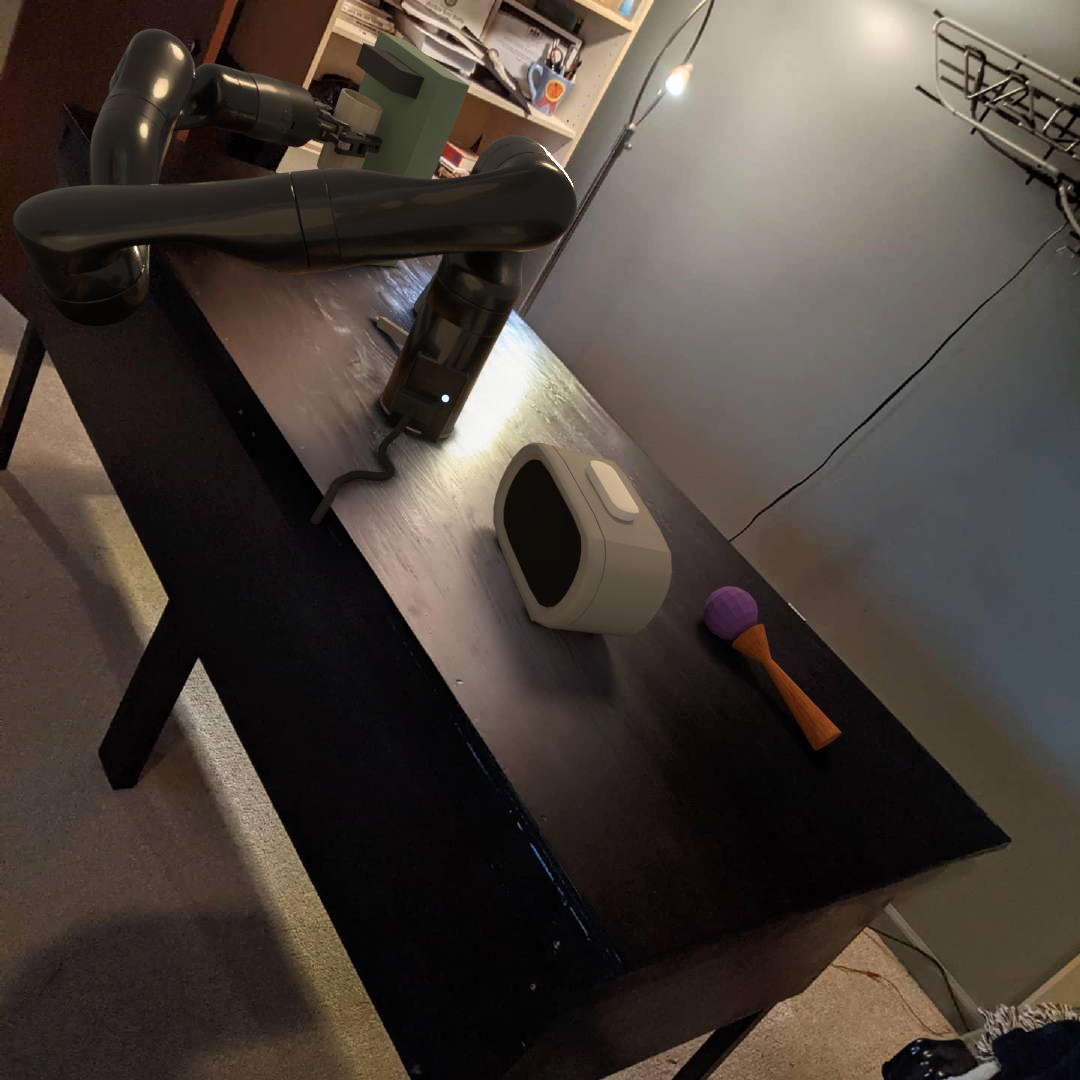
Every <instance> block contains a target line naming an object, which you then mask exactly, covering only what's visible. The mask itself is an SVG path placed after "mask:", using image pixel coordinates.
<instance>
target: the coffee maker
mask: <svg viewBox="0 0 1080 1080" xmlns="http://www.w3.org/2000/svg"><path fill="white" fill-rule="evenodd" d="M355 65H356V66H357V67H359V68H360V69H361V70H362V71H364V74H363V77H362V80H361V83H360V86H359V89H358V91H357V92H358V93H360V94H362V95H364V96H366V97H368V98H370V99H371V100H373V101H375V102H376V103H377V104H379V105H380V106H381V107H382V108H383V113H382V116H381V119H380V121H379V124H378V127H377V129H376V132H375V135H374V136H378V137H380V138H381V139H382V141H383V142H382V145H381V147H380V150H379V152H378V153H377V154H375V153H370V152H368V154H367V157H366V159H365V162H364V165H363V167H362V169H365V170H372V171H379V172H385V173H390V174H396V175H401V176H408V177H414V178H424V179H433V176H434V175H435V172H436V169H437V168H438V165H439V163H440V159H441V157H442V155H443V152H444V150H445V147H446V145H447V143H448V140H449V138H450V135H451V133H452V131H453V128H454V125H455V123H456V121H457V117H458V116H459V113H460V111H461V109H462V106H463V104H464V101H465V99H466V96H467V95H468V91H469V89H470V85H469V84H468V83H467V82H466V81H464V80H463V79H461V78H460V77H459V76H457V75H456V74H455V73H453V72H451V70H449V69H447V68H446V67H444V65H442V64H441V63H439V62H438V61H436V60H435V59H433V58H432V57H430V56H429V55H428V54H426V53H425V52H424V51H422V50H421V49H419V48H418V47H416V46H415V45H414V44H412V43H411V42H409V41H408V40H406V39H403V38H400V37H398V36H396V35H393V34H390V33H388V32H385V31H383V30H379V31H378V34H377V36H376V39H375V43H374V45H371V44H368V43H365V42H362V44H361V48H360V51H359V53H358V56H357V60H356V62H355ZM398 262H399V261H392V262H383V263H376V264H368V266H369V265H370V266H381V267H395V268H396V267H397V264H398Z"/></svg>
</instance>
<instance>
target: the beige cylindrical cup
mask: <svg viewBox="0 0 1080 1080" xmlns="http://www.w3.org/2000/svg"><path fill="white" fill-rule="evenodd" d="M358 92H359V91H355V90H354V89H350V88H345V87H343V88H342V89H341V91H340V94H339V96H338V100H337V102H336V105H335V108H334V110H335V111H334V114H333V116H334V117H336V118H338V119H341V120H343V121H346V122H348V123H349V125H350V126H351V128H353V129H355V130H357V131H360V132H363V133H367V134H370V135H375V132H376V129H377V127H378V124H379V121H380V119H381V116H382V113H383V108H382V107H381V106H380V105H379V104H377V103H376V102H375V101H373V100H371V99H370V98H368V97H366V96H364V95H362V94H360V93H358ZM342 129H343V127H342V126H340V125H339V131H338V134H337V135H338V136H339V134H340V133H341V132H342ZM350 135H353V134H350ZM334 148H335V147H334V146H331V145H328V144H326V143H324V144H322V147H321V149H320V153H319V156H318V158H317V163H316V167H317V169H323V168H356V169H362V167H363V165H364V162H365V159H366V157H367V154H368V152H367V153H366V156H365V158H359V157H352V156H345V155H340V154H337V153H336V152H334Z"/></svg>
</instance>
